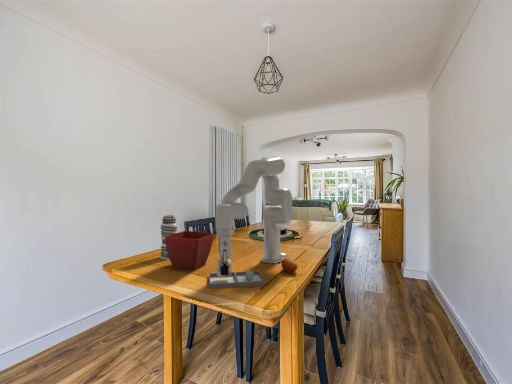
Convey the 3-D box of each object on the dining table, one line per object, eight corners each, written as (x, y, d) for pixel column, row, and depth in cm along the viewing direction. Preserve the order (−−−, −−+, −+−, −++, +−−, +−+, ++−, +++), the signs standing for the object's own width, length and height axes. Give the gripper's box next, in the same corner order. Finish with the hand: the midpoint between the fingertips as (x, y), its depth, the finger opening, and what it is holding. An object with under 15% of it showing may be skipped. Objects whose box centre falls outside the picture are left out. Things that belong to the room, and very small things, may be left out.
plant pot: (214, 262, 130) (214, 232, 130) (196, 274, 112) (197, 239, 112) (184, 259, 135) (185, 230, 135) (163, 269, 117) (163, 236, 117)
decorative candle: (156, 257, 137) (157, 215, 137) (170, 254, 145) (171, 214, 145) (165, 260, 132) (166, 216, 132) (179, 257, 139) (180, 215, 139)
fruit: (276, 266, 121) (284, 253, 121) (289, 274, 121) (297, 261, 122) (279, 272, 113) (288, 258, 113) (292, 280, 113) (301, 266, 114)
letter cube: (230, 272, 106) (230, 259, 106) (231, 277, 101) (231, 263, 100) (217, 272, 105) (217, 259, 105) (217, 278, 99) (217, 264, 99)
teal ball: (252, 278, 107) (252, 269, 107) (254, 281, 103) (254, 272, 103) (244, 278, 106) (244, 269, 106) (245, 281, 102) (245, 272, 102)
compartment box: (259, 274, 112) (259, 270, 112) (265, 285, 100) (265, 281, 100) (209, 277, 108) (209, 273, 108) (208, 289, 95) (208, 284, 95)
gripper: (234, 235, 95) (234, 279, 95) (231, 228, 112) (230, 265, 112) (216, 236, 93) (216, 280, 94) (215, 228, 110) (215, 266, 111)
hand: (224, 271), depth 103 cm, fingers closed on letter cube, 6 cm apart
